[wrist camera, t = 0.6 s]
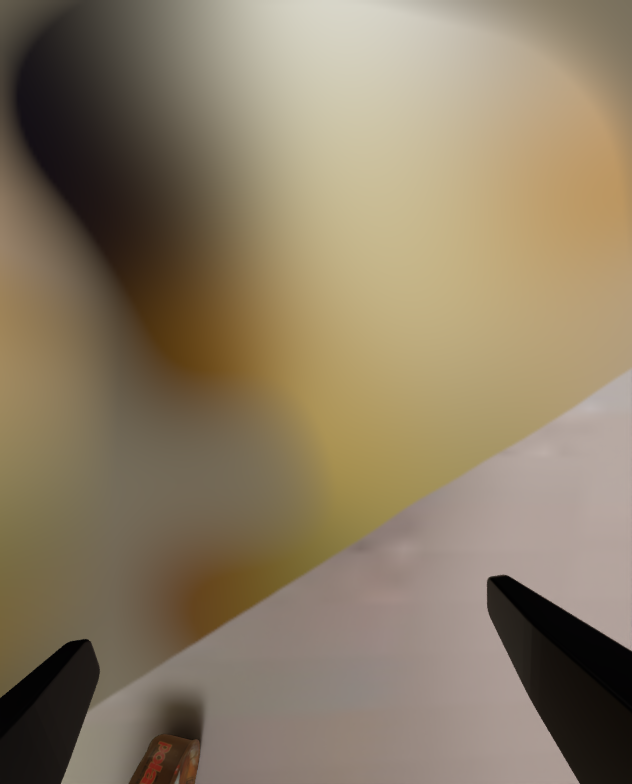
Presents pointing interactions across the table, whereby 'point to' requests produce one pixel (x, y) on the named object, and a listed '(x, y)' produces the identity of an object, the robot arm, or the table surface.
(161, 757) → the tin
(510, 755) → the table surface
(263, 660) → the table surface
